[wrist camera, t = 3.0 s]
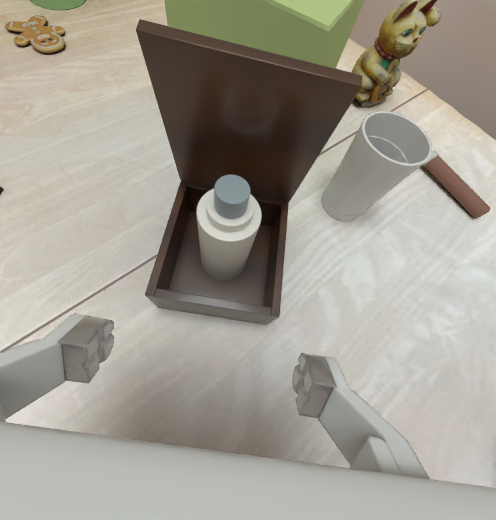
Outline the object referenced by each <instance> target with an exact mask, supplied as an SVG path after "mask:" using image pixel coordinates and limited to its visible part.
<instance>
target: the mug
mask: <svg viewBox="0 0 496 520" xmlns="http://www.w3.org/2000/svg"><path fill="white" fill-rule="evenodd" d="M31 1H32V2H33V3H34V4H36V5H38V6H41V7H44V8H48V9H54V10H66V9H72V8H76V7H79V6H80V5H82V4H83V3H84V2H85V1H86V0H31Z"/></svg>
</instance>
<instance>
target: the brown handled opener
mask: <svg viewBox="0 0 496 520" xmlns="http://www.w3.org/2000/svg"><path fill="white" fill-rule="evenodd" d="M438 155H439V154H438V153H437V152H436V151H435V150H434V151H432V154H431V157H430V158H429V160H428V161H427V162H425V163H424V164H423V165H422V166H423V167H425V168H426V169H427V170H428V171H429V172H430V173H431V174H432V175H433V176H434V177H435V178H436V179H437V180H438V181H439V182H440V183H441V184H442V185H443V186H444V187H445V188H446V189H447V190H448V191H449V192H450V194H451V195H452V196H453V197H454V198H455V199H456V200H457V201H458V202H459V203H460V204H461V205H462V206H463V207H464V208H465V209H466V210H467V211H468V212H469V213H470V214H471V215H472V216H473V217H475V218H477V217H480V216H482V215H484V214H486V213H487V212H489V210H490V207H489V206H488V205H487V204H486V203H485V202H484V201H483V200H482V199H481V198H480V197H479V196H478V195H477V194H476V193H475V192H474V191H473V190H472V189H471V188H470V187H469V186H468V185H467V184H466V183H465V182H464V181H463V180H462V179H461V178H460V177H459V176H458V175H457V174H456V173H455V172H454V171H453V170H452V169H451V168H450V167H449V166H448V165H447V164H446V163H445V162H444V161H443V160H442V159H441V158H440V157H439V156H438Z"/></svg>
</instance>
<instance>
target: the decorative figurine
mask: <svg viewBox="0 0 496 520" xmlns="http://www.w3.org/2000/svg"><path fill="white" fill-rule="evenodd" d="M436 1H437V0H420V1H419V2H418V3H417V0H409V1H406V2H404V3H403V4H402V5H401V6H400V7H399V8H397V9H395V10H394V11H392V12H391V13H390V14H389V15H388V16H387V17H386V19H385V20H384V22H383V23H382V26H381V28H380V32H379V37H378V38H377V39H376V40H375V45H373V46H371V47H369V48H368V49H367V50H366V51H365V52H364V53H363V54H362V55H361V56H360V58H359V59H358V60H357V62H356V64H355V66H354V68H353V70H352V72H351V73H354V74H358V75H362V76H363V78H362V87H361V89H360V90H359V92H358V93H357V95H356V97H355V98H356V99H357V101H358V103H359V104H360V105H361V106H362V107H365V106H371V105H375V104H379V103H380V102H381V100H383V99H384V98H385V97H386V96H389V95H391V94H392V92H393V89H392V87H394V86H395V85H396V84H397V83H398V82H399V80H400V77H401V71H400V69H399V68H398V66H399V63H400V58H403V57H405V56H407V55H409V54H410V53H412V51H413V50H414V49H415V48H416V46H417V45H418V43H419V41H420V40H421V36H422V34H423V31H424V30H425V28H426V26H427V25H428V26H434V25H435V24H437V23H438V22H439V21H440V19H441V11H440V10H439V9H438V8H434V7H433V8H432V6H433V5H434V3H435V2H436Z"/></svg>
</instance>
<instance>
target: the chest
mask: <svg viewBox="0 0 496 520" xmlns="http://www.w3.org/2000/svg"><path fill="white" fill-rule="evenodd" d="M212 189H214V186H211V185H206V184H201V183H196V182H191V181H187V180H181V182H180V186H179V189H178V192H177V195H176V198H175V201H174V204H173V208H172V211H171V214H170V217H169V220H168V223H167V227H166V230H165V233H164V236H163V239H162V242H161V246H160V249H159V252H158V255H157V258H156V261H155V265H154V268H153V271H152V274H151V277H150V280H149V283H148V287H147V290H146V293H145V295H146V296H147V297H148V298H149V299H150V300H151V301H152V302H153V303H154V304H155V305H156V306H157V307H159V308H165V309H171V310H178V311H184V312H190V313H196V314H202V315H209V316H215V317H221V318H227V319H233V320H240V321H246V322H252V323H258V324H265V325H267V324H268V323H270V322H272V321H273V320H275V319H277V318H278V317H279V314H280V302H281V289H282V277H283V265H284V252H285V240H286V228H287V215H288V203H289V201H285V200H280V199H275V198H270V197H265V196H260V195H255V194H251V195H252V196H253V197H254V198H255V199H256V201H257V202H258V204H259V206H260V209H261V214H262V217H261V223H260V226H259V228H258V231H257V234H256V237H255V239H254V242H253V245H252V248H251V250H250V253H249V256H248V259H247V261H246V264H245V267H244V269H243V271H242V272H241V274H240V275H239V276H237V277H236V278H234V279H232V280H228V281H220V280H216V279H214V278H212V277H210V276H209V275H208V274H207V273H206V272H205V270H204V269H203V266H202V261H201V252H200V242H199V233H198V223H197V206H198V203H199V201H200V199H201V198H202V196H203V195H204V194H206V193H207V192H208V191H210V190H212Z"/></svg>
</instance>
